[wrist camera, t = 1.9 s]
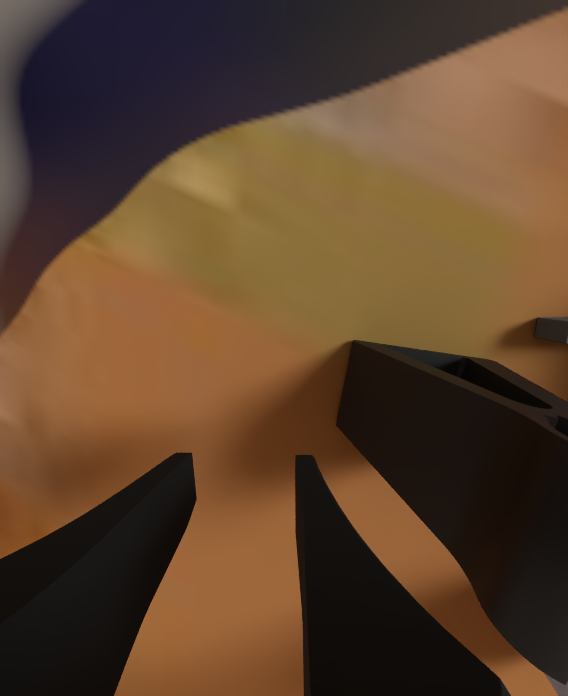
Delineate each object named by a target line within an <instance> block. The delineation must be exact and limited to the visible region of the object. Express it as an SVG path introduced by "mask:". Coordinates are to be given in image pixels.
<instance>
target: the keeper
mask: <svg viewBox="0 0 568 696" xmlns="http://www.w3.org/2000/svg"><path fill="white" fill-rule="evenodd" d="M534 337H537V338H542V339H547V340H552V341H557V342H562V343H568V317H563V318H538V319H537V324H536V329H535V334H534Z"/></svg>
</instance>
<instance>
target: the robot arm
mask: <svg viewBox="0 0 568 696" xmlns="http://www.w3.org/2000/svg"><path fill="white" fill-rule="evenodd" d="M196 499H197V498H196V488H195V478H194V468H193V458H192V453H175V454H173V455H172V456H170V457H169V458H167V459H166V460H164V461H163V462H161V463H160V464H158V465H157V466H156V467H154V468H153V469H151V470H150V471H149V472H147V473H146V474H144V475H143V476H141V477H140V478H139V479H137V480H136V481H134V482H133V483H131V484H130V485H129V486H127V487H126V488H124V489H123V490H121V491H120V492H118V493H117V494H115V495H113V496H112V497H110V498H109V499H107V500H106V501H104V502H103V503H101V504H100V505H98V506H97V507H95V508H93V509H92V510H90V511H89V512H87V513H85V514H84V515H82V516H80V517H79V518H77V519H75V520H74V521H72V522H70V523H68V524H67V525H65V526H63V527H61V528H59V529H58V530H56V531H54V532H52V533H51V534H49V535H47V536H45V537H43V538H41V539H39V540H37V541H35V542H33V543H32V544H30V545H28V546H26V547H24V548H22V549H20V550H18V551H16V552H14V553H12V554H10V555H8V556H6V557H4V558H2V559H0V696H114V694H115V691H116V689H117V686H118V683H119V681H120V678H121V675H122V673H123V670H124V667H125V665H126V662H127V660H128V657H129V655H130V652H131V649H132V647H133V644H134V642H135V639H136V637H137V634H138V632H139V629H140V627H141V624H142V622H143V619H144V617H145V615H146V612H147V610H148V608H149V606H150V603H151V601H152V599H153V597H154V595H155V593H156V591H157V589H158V587H159V585H160V583H161V581H162V579H163V576H164V574H165V572H166V570H167V568H168V566H169V564H170V562H171V560H172V558H173V556H174V554H175V552H176V549H177V547H178V545H179V543H180V541H181V539H182V537H183V535H184V533H185V530H186V528H187V525H188V523H189V520H190V517H191V514H192V511H193V508H194V505H195V502H196ZM295 501H296V543H297V555H298V568H299V580H300V592H301V604H302V620H303V664H304V696H511V695H510V693H509V692H508V690H507V689H506V687H505V685H504V684H503V682H502V681H501V679H500V678H499V677H498V676H497V675H496V674H495V673H494V672H492V671H491V670H490V669H489V668H488V667H487V666H486V665H485V664H483V663H482V662H481V661H480V660H479V659H478V658H477V657H476V656H475V655H473V654H472V653H471V652H470V651H469V650H468V649H467V648H466V647H464V646H463V645H462V644H461V643H460V642H459V641H458V640H457V639H455V638H454V637H453V636H452V635H451V634H450V633H449V632H448V631H447V630H445V629H444V628H443V627H442V626H441V625H440V624H439V623H438V622H437V621H436V620H435V619H434V618H433V617H432V616H431V615H430V614H429V613H428V612H427V611H426V610H425V609H424V608H423V607H422V606H421V605H420V604H419V603H418V602H417V601H416V600H415V599H414V598H413V597H412V596H411V594H410V593H409V592H408V591H407V590H406V589H405V588H404V587H403V586H402V585H401V584H400V583H399V581H398V580H397V579H396V578H395V577H394V576H393V575H392V574H391V573H390V572H389V571H388V570H387V568H386V567H385V566H384V565H383V564H382V563H381V561H380V560H379V559H378V558H377V557H376V555H375V554H374V553H373V552H372V551H371V549H370V548H369V547H368V546H367V544H366V543H365V542H364V540H363V539H362V538H361V537H360V535H359V534H358V533H357V531H356V530H355V529H354V527H353V526H352V524H351V523H350V521H349V520H348V518H347V517H346V515H345V514H344V512H343V511H342V509H341V508H340V506H339V505H338V503H337V501H336V500H335V498H334V496H333V495H332V493H331V491H330V489H329V488H328V486H327V484H326V482H325V480H324V478H323V476H322V474H321V472H320V470H319V468H318V465H317V463H316V460H315V458H314V457H313V456H312V455H296V459H295ZM544 674H545V673H544ZM545 675H546V677H547V678H548V680H549V681H550V683H551V684H552V686H553V688H554V689H555V691H556V692H557V694H558V695H559V696H568V682H567V683H566V685H564V684H562V683H560V682H558V681H556V680H554V679H553V678H551V677H550V676H548V675H547V674H545Z"/></svg>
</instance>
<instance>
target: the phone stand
mask: <svg viewBox="0 0 568 696" xmlns="http://www.w3.org/2000/svg"><path fill="white" fill-rule="evenodd" d="M336 426H337V427H338V428H339V429H340V430H341V431H342V432H343V434H344V435H345V436H346V437H347V438H348V439H349V440H350V441H351V442H352V444H353V445H354V446H355V447H356V448H357V449H358V450H359V451H360V452H361V454H362V455H363V456H364V457H365V458H366V459H367V460H368V461H369V462H370V464H371V465H372V466H373V467H374V468H375V469H376V470H377V471H378V472H379V474H380V475H381V476H382V477H383V478H384V479H385V480H386V481H387V482H388V484H389V485H390V486H391V487H392V488H393V489H394V490H395V491H396V492H397V494H398V495H399V496H400V497H401V498H402V499H403V500H404V501H405V502H406V504H407V505H408V506H409V507H410V508H411V509H412V510H413V511H414V512H415V514H416V515H417V516H418V517H419V518H420V519H421V520H422V521H423V522H424V524H425V525H426V526H427V527H428V528H429V529H430V530H431V531H432V532H433V533H434V535H435V536H436V537H437V538H438V539H439V540H440V541H441V542H442V543H443V545H444V546H445V547H446V548H447V549H448V550H449V552H450V553H451V554H452V555H453V557H454V558H455V559H456V561H457V562H458V563H459V565H460V566H461V568H462V569H463V571H464V572H465V574H466V576H467V578H468V579H469V581H470V583H471V585H472V587H473V589H474V591H475V593H476V596H477V598H478V600H479V602H480V604H481V606H482V608H483V610H484V611H485V613H486V615H487V616H488V618H489V619H490V621H491V622H492V623H493V625H494V626H495V627H496V628H497V630H498V631H499V632H500V633H501V634H502V636H503V637H504V638H505V639H506V640H507V641H508V642H509V643H510V644H511V645H512V646H513V647H514V648H515V649H516V650H517V651H518V652H519V653H520V654H521V655H522V656H523V657H525V658H526V659H527V660H528V661H529V662H530V663H532V664H533V665H534V666H535V667H537V668H538V669H539V670H541V671H542V672H544V673H545V674H547V675H548V676H550V677H551V678H553V679H554V680H556V681H558V682H560V683H562V684H564V685H566V683H567V682H568V402H566V401H564V400H563V399H561V398H559V397H557V396H556V395H554V394H552V393H550V392H549V391H547V390H545V389H543V388H542V387H540V386H538V385H536V384H534V383H533V382H531V381H529V380H527V379H526V378H524V377H522V376H520V375H519V374H517V373H515V372H513V371H512V370H510V369H508V368H506V367H504V366H503V365H501V364H499V363H497V362H495V361H492V360H488V359H482V358H475V357H468V356H461V355H454V354H447V353H441V352H434V351H427V350H419V349H413V348H406V347H399V346H393V345H386V344H379V343H372V342H365V341H358V340H353V344H352V349H351V354H350V359H349V364H348V369H347V374H346V379H345V383H344V388H343V393H342V398H341V403H340V408H339V413H338V418H337V423H336Z"/></svg>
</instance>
